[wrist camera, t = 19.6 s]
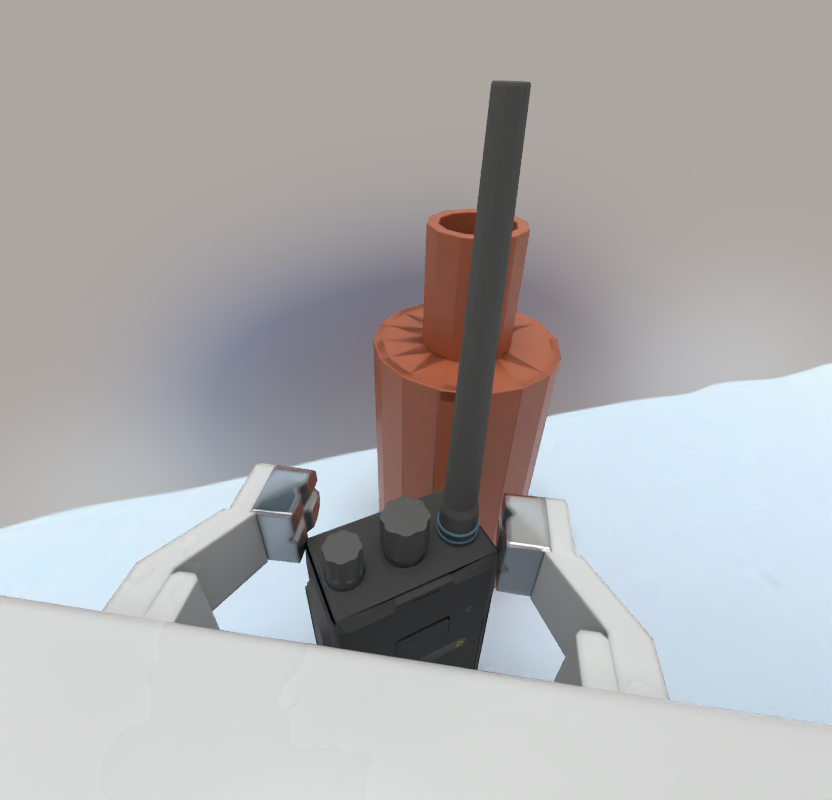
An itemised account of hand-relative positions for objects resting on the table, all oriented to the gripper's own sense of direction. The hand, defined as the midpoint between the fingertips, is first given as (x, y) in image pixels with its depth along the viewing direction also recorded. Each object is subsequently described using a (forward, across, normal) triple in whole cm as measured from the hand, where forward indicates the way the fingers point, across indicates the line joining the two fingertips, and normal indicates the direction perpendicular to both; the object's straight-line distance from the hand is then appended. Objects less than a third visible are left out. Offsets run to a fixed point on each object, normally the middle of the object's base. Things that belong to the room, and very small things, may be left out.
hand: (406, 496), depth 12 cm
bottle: (+8, -1, +13) cm, 15 cm away
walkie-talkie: (-1, 0, +11) cm, 11 cm away
